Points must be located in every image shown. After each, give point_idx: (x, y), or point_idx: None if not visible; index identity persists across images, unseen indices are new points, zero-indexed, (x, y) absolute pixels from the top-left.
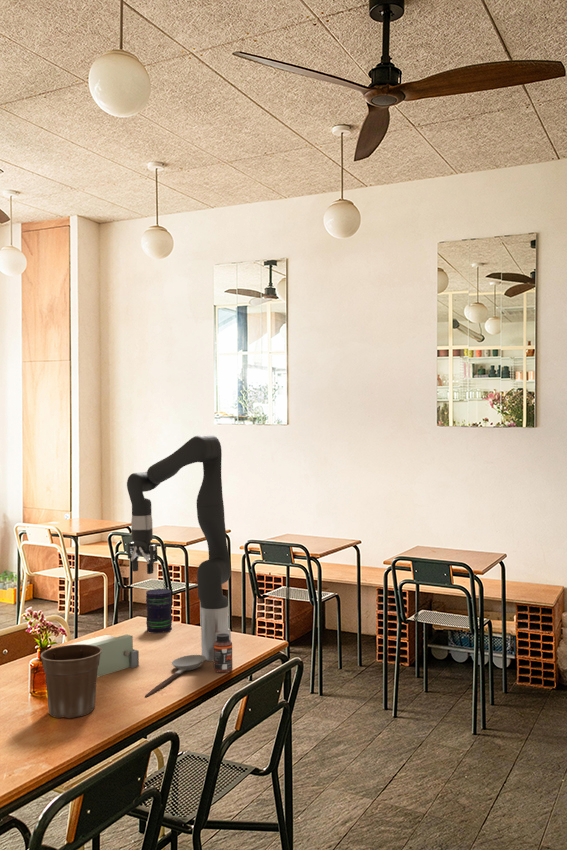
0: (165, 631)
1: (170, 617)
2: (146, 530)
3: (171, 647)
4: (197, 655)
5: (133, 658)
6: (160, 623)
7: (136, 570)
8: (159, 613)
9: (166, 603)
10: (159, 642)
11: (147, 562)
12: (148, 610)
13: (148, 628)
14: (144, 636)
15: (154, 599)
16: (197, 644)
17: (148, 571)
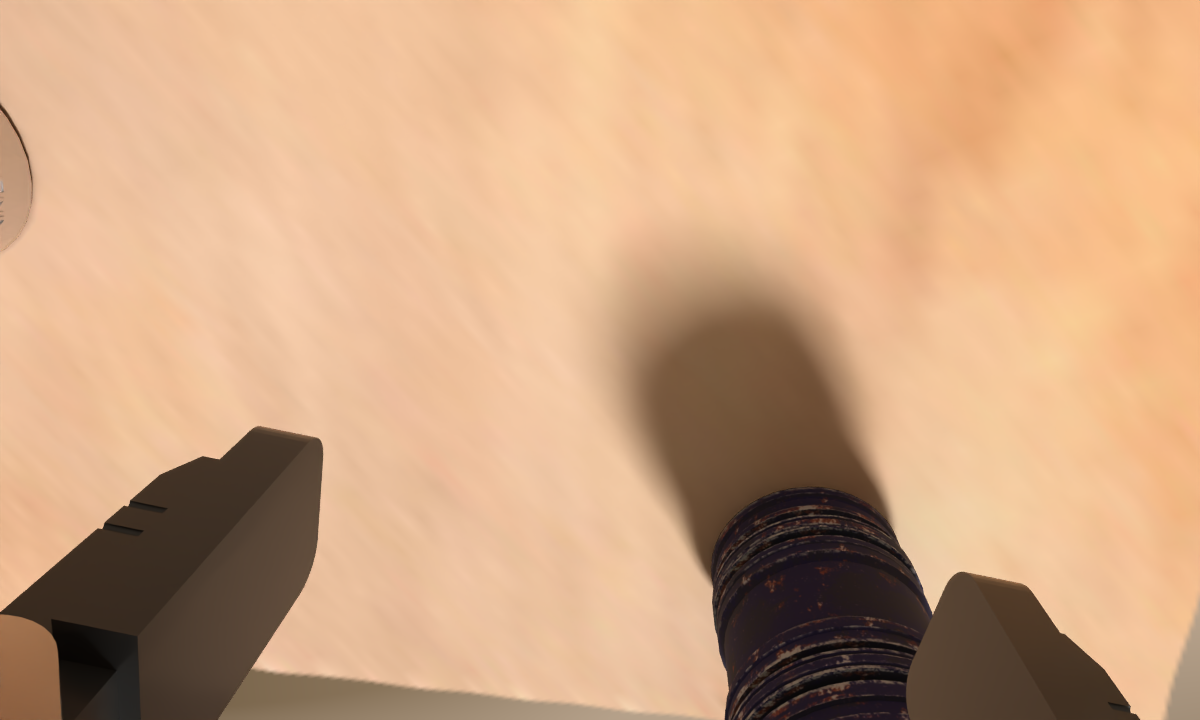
0: (719, 539)
1: (720, 651)
2: None
3: (399, 234)
4: None
5: None
6: (749, 551)
7: (926, 654)
8: (769, 605)
9: (734, 712)
10: (578, 305)
11: (40, 663)
12: (893, 607)
13: (855, 511)
14: (801, 389)
15: (834, 686)
16: (291, 376)
17: (230, 458)
